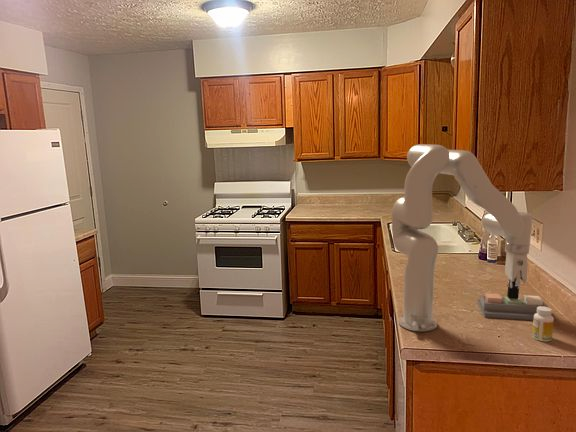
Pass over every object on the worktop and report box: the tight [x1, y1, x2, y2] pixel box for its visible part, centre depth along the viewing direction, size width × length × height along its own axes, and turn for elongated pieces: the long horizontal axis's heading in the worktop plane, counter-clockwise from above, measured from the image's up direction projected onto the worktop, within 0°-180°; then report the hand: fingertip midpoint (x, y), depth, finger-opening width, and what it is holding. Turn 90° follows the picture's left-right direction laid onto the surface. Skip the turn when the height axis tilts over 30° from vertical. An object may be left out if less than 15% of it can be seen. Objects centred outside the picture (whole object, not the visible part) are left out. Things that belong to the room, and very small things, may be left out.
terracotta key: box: [484, 292, 502, 303], centre depth 157 cm, size 5×5×3 cm
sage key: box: [504, 295, 522, 304], centre depth 156 cm, size 5×5×3 cm
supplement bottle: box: [531, 306, 555, 343], centre depth 136 cm, size 5×5×10 cm
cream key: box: [523, 294, 544, 306], centre depth 154 cm, size 5×5×3 cm
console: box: [476, 295, 549, 321], centre depth 156 cm, size 13×21×4 cm, turn 77°
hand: (512, 297), depth 156 cm, fingers closed
